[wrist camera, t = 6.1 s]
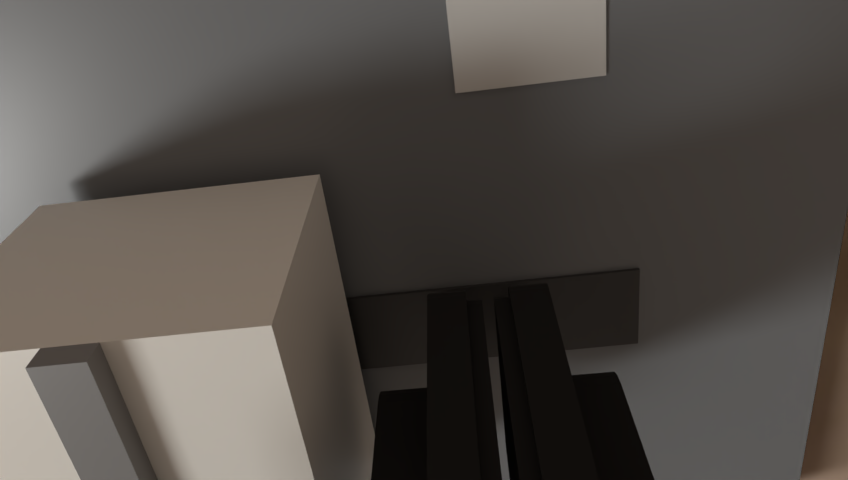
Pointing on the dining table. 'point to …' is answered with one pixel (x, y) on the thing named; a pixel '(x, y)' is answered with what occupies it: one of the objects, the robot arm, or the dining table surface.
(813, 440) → the dining table surface
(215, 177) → the fader console
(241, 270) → the fader knob
